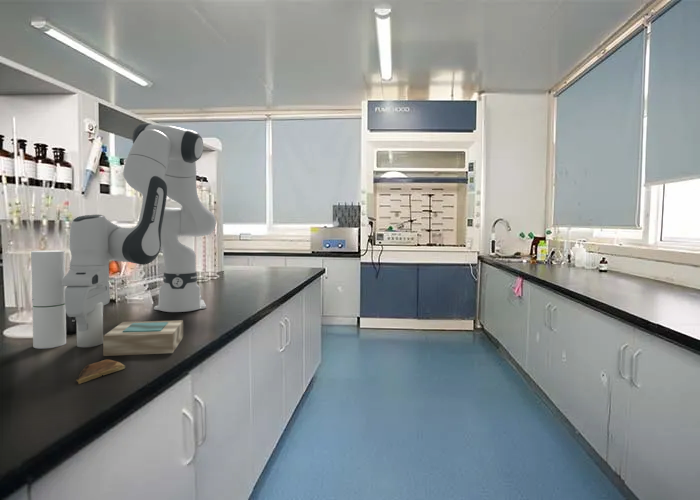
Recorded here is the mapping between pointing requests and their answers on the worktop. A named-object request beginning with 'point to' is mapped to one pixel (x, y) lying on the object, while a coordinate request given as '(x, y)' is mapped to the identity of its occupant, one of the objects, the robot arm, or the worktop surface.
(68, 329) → the supplement bottle
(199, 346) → the worktop surface
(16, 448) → the worktop surface
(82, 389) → the worktop surface
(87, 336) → the white bottle
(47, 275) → the cylindrical container
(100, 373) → the shard
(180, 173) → the robot arm
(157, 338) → the birch plinth
